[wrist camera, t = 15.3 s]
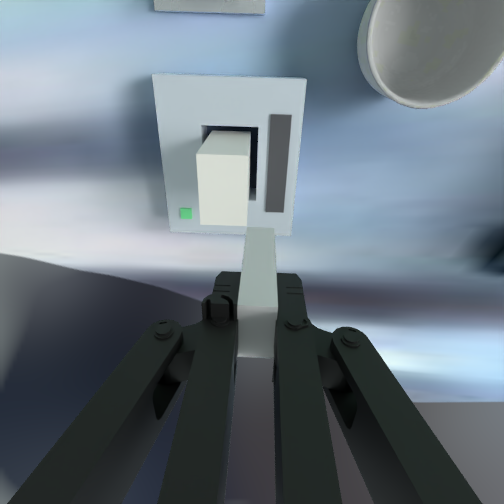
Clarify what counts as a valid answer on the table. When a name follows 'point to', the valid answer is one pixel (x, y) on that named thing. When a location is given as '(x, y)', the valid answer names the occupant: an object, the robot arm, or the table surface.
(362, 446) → the robot arm
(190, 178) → the switch box
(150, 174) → the table surface
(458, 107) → the table surface
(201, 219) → the plug
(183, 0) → the holster
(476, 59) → the teacup
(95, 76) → the table surface
